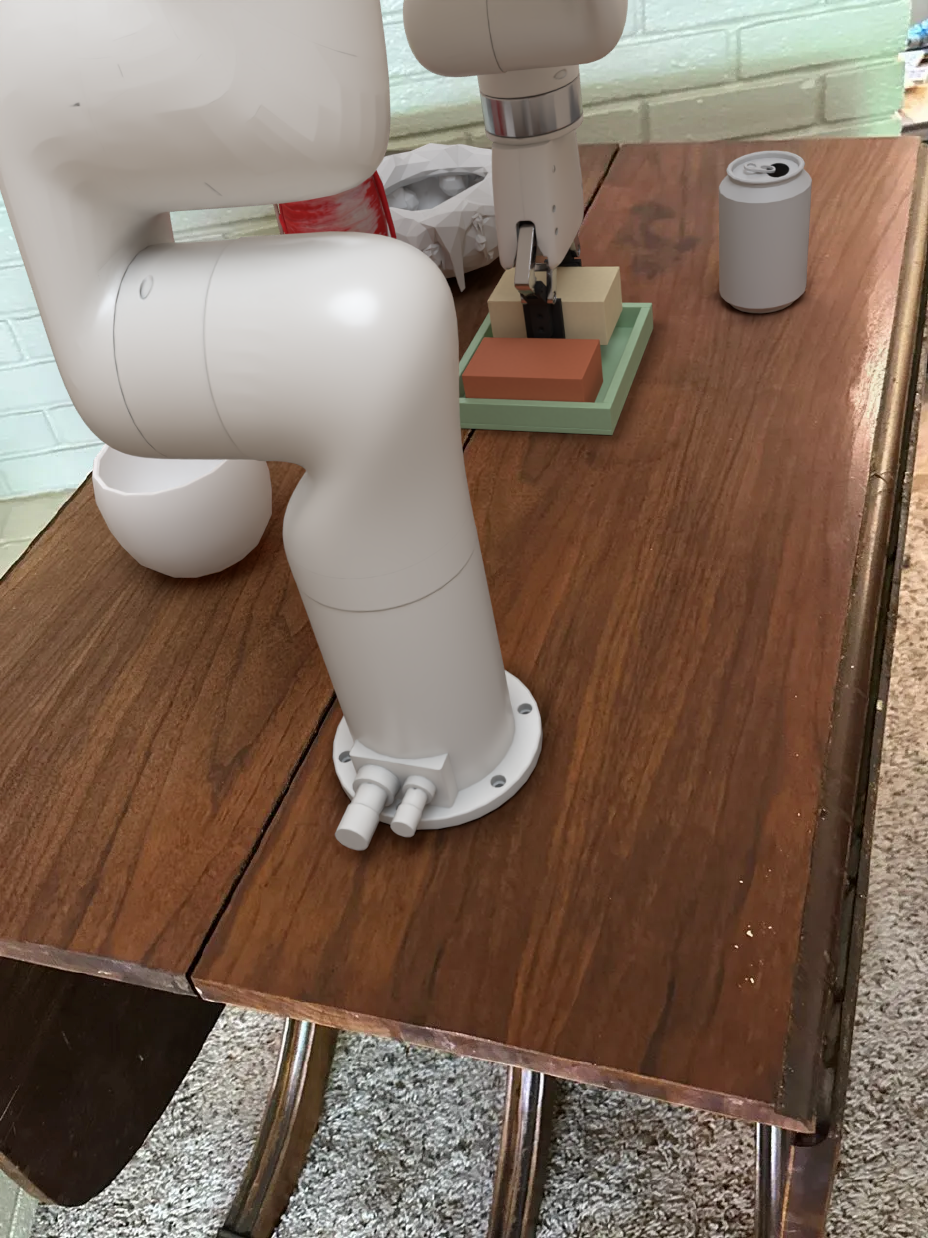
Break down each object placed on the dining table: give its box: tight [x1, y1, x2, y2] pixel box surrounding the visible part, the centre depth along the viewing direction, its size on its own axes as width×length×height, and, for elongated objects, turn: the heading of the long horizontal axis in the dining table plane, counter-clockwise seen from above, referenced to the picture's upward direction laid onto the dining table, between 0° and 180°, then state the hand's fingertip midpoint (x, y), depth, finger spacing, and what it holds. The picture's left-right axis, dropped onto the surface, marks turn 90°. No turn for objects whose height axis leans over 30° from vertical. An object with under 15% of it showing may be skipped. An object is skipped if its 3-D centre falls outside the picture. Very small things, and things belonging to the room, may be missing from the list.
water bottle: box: [272, 170, 397, 239], centre depth 86 cm, size 12×8×25 cm, turn 77°
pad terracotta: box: [462, 337, 603, 403], centre depth 89 cm, size 6×10×4 cm, turn 72°
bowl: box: [376, 142, 499, 293], centre depth 109 cm, size 21×20×10 cm
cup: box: [91, 443, 273, 579], centre depth 80 cm, size 12×12×10 cm
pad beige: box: [487, 266, 623, 345], centre depth 93 cm, size 6×10×4 cm, turn 72°
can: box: [718, 150, 813, 314], centre depth 93 cm, size 8×8×12 cm
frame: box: [459, 302, 654, 436], centre depth 93 cm, size 17×15×2 cm
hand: (556, 320), depth 94 cm, fingers closed on pad beige, 6 cm apart
